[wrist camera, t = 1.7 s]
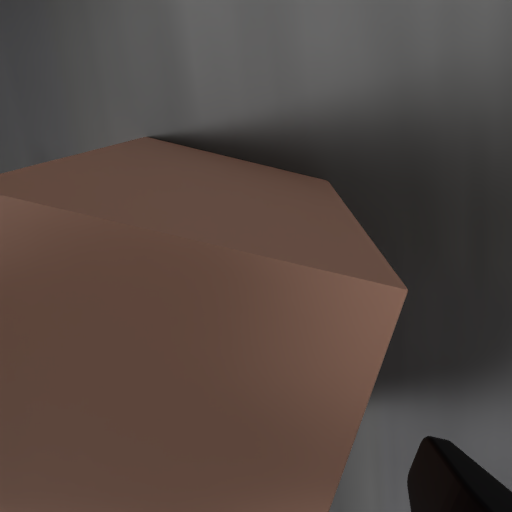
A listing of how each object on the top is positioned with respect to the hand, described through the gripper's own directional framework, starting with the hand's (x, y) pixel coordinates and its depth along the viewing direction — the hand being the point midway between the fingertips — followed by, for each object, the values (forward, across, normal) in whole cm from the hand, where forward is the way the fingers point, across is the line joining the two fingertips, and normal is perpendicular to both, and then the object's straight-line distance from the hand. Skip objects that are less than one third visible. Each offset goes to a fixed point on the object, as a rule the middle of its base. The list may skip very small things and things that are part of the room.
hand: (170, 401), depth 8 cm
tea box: (+6, 0, 0) cm, 6 cm away
